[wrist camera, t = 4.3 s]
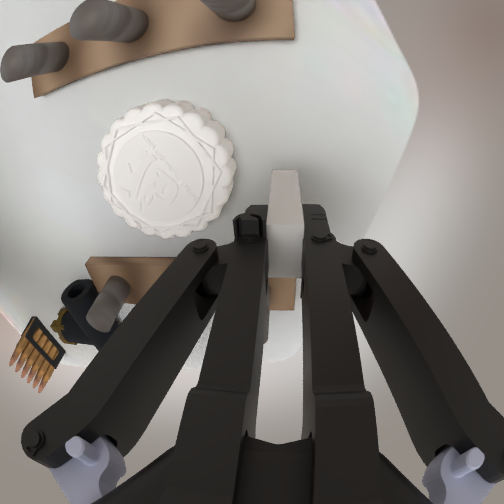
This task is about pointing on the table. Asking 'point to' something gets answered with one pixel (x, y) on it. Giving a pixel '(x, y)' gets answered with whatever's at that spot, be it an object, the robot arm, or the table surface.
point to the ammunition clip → (37, 353)
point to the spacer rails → (127, 50)
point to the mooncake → (166, 168)
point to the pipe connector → (79, 316)
